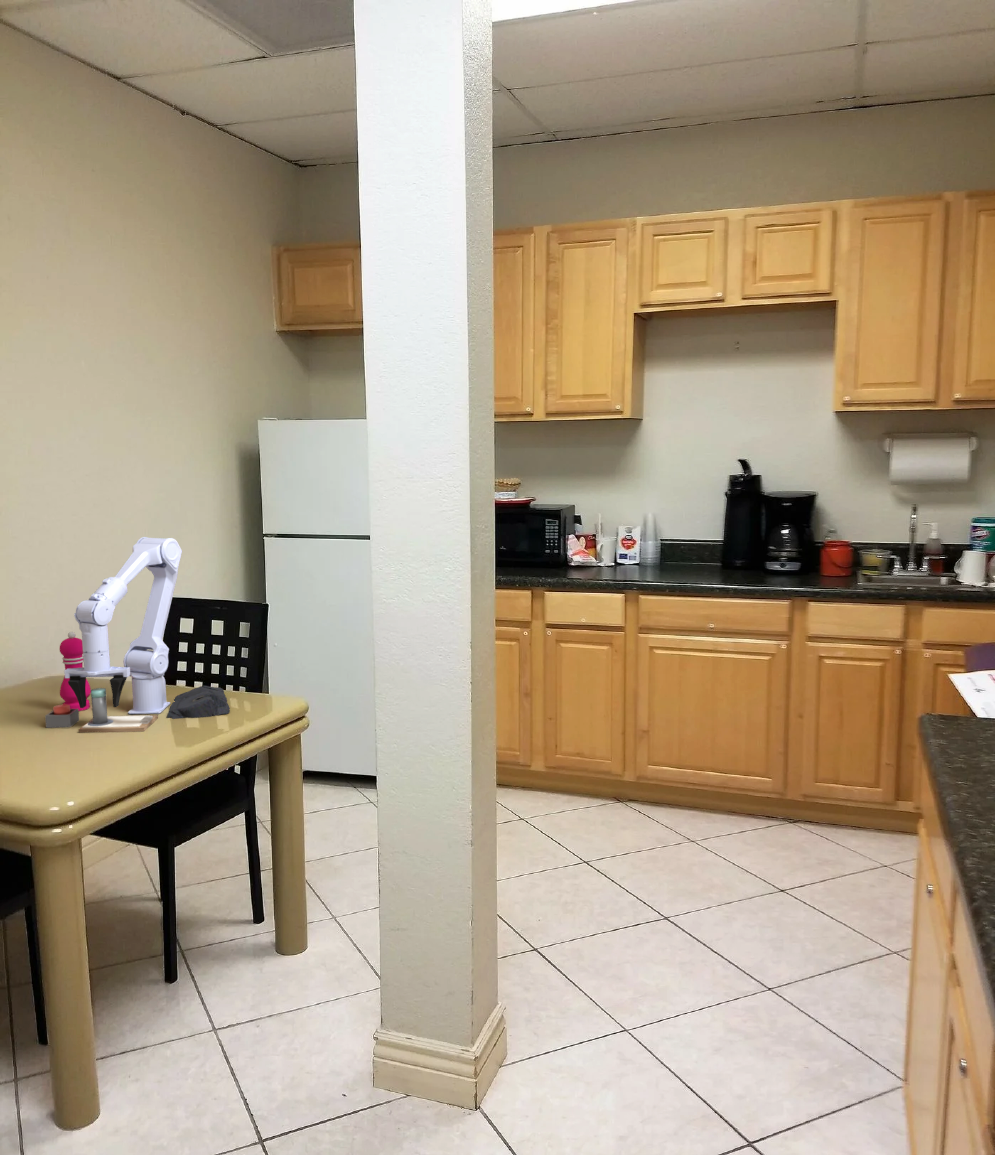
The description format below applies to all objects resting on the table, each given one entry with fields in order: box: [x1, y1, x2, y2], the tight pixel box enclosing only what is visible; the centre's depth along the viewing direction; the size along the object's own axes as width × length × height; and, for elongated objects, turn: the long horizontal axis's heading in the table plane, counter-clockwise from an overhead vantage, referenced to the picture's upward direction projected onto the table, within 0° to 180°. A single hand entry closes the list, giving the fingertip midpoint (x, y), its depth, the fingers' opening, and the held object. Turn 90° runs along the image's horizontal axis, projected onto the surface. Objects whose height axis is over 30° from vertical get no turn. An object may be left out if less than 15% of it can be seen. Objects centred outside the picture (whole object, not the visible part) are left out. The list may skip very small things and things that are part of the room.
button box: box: [45, 709, 80, 729], centre depth 225 cm, size 6×6×3 cm
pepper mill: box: [59, 631, 92, 712], centre depth 238 cm, size 7×7×20 cm
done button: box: [52, 703, 70, 715], centre depth 225 cm, size 4×4×2 cm
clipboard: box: [78, 714, 159, 734], centre depth 224 cm, size 11×15×2 cm
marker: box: [90, 687, 108, 724], centre depth 222 cm, size 3×3×8 cm
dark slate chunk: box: [165, 685, 231, 720], centre depth 240 cm, size 15×22×5 cm
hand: (99, 706), depth 222 cm, fingers open, 7 cm apart
